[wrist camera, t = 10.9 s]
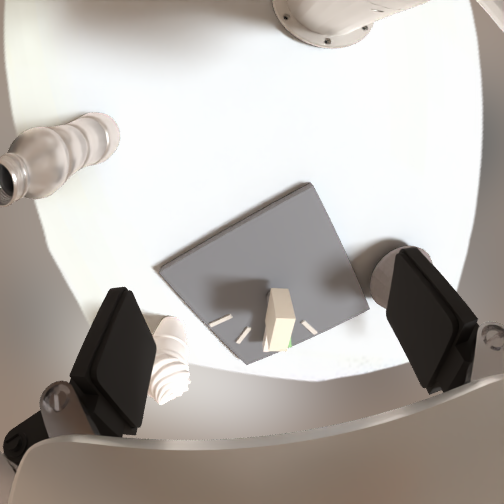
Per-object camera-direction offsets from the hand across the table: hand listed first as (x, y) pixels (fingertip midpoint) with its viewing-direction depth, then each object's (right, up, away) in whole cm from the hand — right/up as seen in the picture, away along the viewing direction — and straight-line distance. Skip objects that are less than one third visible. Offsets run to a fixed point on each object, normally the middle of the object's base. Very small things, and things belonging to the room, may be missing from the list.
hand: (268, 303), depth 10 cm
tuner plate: (+3, -4, +35) cm, 35 cm away
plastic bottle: (-20, +17, +22) cm, 34 cm away
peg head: (+2, -8, +35) cm, 36 cm away
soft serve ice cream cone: (-14, -10, +38) cm, 42 cm away
